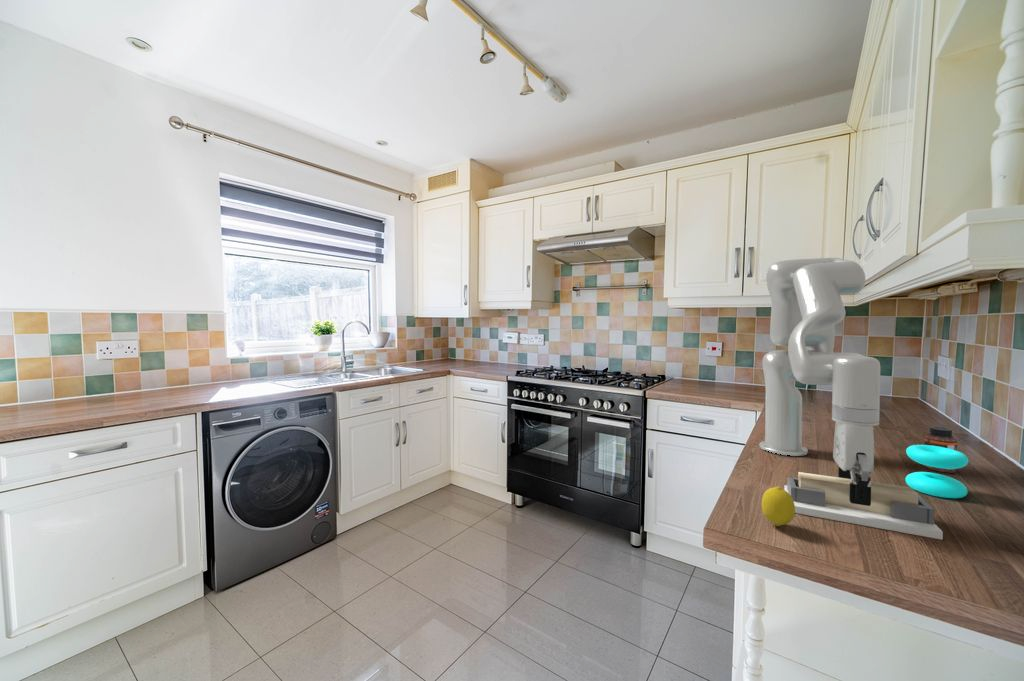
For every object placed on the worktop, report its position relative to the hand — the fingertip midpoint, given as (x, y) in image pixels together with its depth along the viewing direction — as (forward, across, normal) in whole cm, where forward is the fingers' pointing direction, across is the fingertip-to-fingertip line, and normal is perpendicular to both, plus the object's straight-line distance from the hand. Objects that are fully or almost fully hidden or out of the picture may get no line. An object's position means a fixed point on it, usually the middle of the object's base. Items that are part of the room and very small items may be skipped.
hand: (853, 494), depth 83 cm
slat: (+2, 0, 0) cm, 2 cm away
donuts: (+4, -22, +20) cm, 30 cm away
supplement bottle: (+4, -41, +26) cm, 49 cm away
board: (+4, 0, 0) cm, 4 cm away
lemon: (+4, +14, -14) cm, 21 cm away
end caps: (+2, 0, 0) cm, 2 cm away
